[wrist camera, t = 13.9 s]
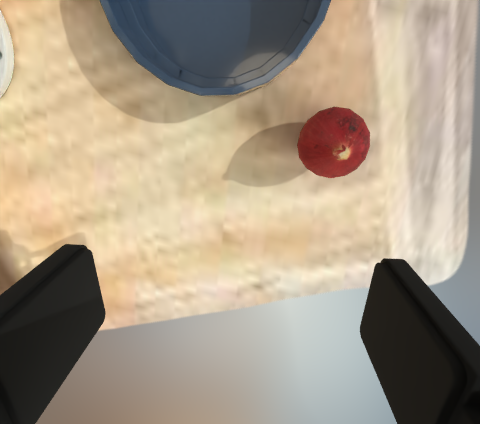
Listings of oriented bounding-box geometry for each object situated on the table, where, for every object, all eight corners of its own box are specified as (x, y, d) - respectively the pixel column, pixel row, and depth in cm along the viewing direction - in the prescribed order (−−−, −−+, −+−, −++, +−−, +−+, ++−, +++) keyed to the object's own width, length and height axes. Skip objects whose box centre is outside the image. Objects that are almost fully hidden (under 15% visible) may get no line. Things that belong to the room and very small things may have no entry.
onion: (319, 93, 26) (340, 92, 19) (367, 127, 27) (406, 139, 19) (282, 146, 28) (288, 165, 21) (329, 177, 29) (350, 205, 21)
